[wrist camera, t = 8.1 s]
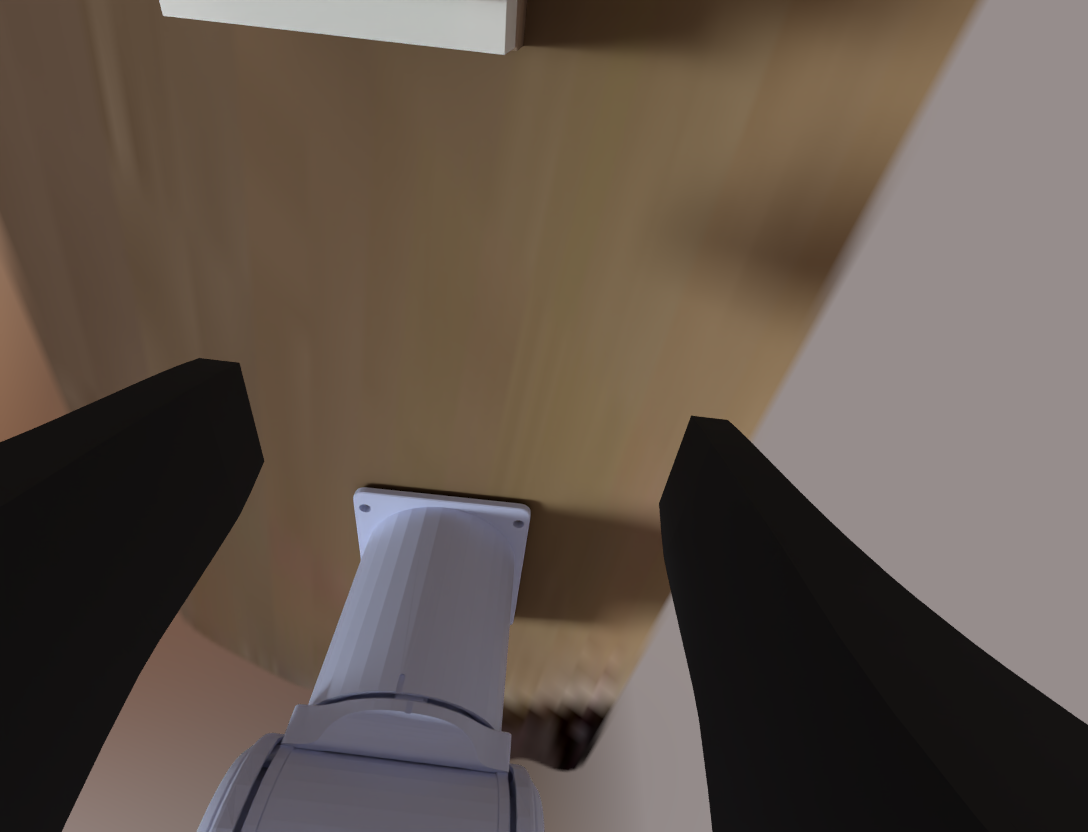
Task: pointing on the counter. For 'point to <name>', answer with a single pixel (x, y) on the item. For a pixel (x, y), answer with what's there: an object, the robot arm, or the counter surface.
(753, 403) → the counter surface
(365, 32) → the top slab
